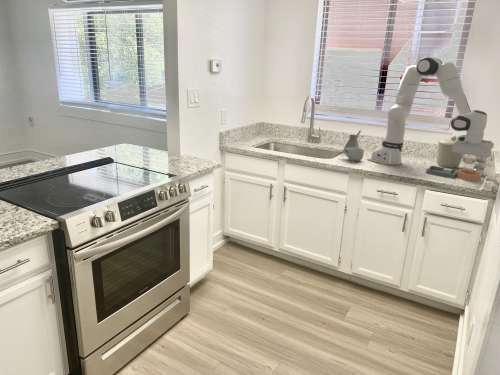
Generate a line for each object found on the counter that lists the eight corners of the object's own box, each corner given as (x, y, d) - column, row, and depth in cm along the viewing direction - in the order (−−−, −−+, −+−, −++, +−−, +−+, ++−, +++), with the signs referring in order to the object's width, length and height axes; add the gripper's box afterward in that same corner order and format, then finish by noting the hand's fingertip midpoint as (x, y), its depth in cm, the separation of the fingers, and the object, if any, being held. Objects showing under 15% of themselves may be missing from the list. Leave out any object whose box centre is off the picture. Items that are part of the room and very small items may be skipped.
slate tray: (425, 174, 235) (426, 169, 234) (430, 169, 245) (431, 165, 244) (453, 179, 226) (454, 174, 225) (456, 174, 237) (457, 170, 236)
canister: (463, 166, 258) (470, 136, 251) (460, 172, 244) (468, 139, 237) (435, 161, 268) (441, 132, 261) (430, 166, 253) (436, 135, 246)
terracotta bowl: (455, 179, 226) (457, 172, 225) (458, 175, 236) (460, 168, 234) (478, 184, 220) (480, 176, 218) (480, 179, 229) (482, 172, 228)
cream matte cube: (442, 174, 234) (443, 169, 233) (443, 172, 237) (444, 167, 236) (450, 175, 231) (451, 170, 230) (451, 174, 234) (452, 169, 233)
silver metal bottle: (470, 176, 235) (478, 144, 229) (471, 174, 240) (479, 143, 234) (482, 178, 232) (490, 146, 225) (483, 176, 237) (491, 144, 231)
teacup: (365, 160, 260) (367, 149, 258) (358, 163, 253) (359, 151, 250) (347, 156, 269) (348, 145, 267) (339, 159, 261) (341, 147, 259)
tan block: (465, 161, 228) (466, 156, 227) (472, 162, 226) (473, 157, 225) (464, 163, 225) (465, 157, 224) (471, 164, 223) (472, 159, 222)
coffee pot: (356, 155, 275) (359, 134, 270) (341, 152, 280) (343, 132, 276) (365, 150, 291) (368, 131, 287) (351, 148, 297) (353, 129, 293)
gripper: (494, 140, 218) (489, 163, 222) (455, 135, 229) (450, 157, 233) (494, 142, 213) (488, 165, 217) (454, 137, 224) (449, 159, 228)
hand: (468, 161), depth 225 cm, fingers closed on tan block, 4 cm apart
